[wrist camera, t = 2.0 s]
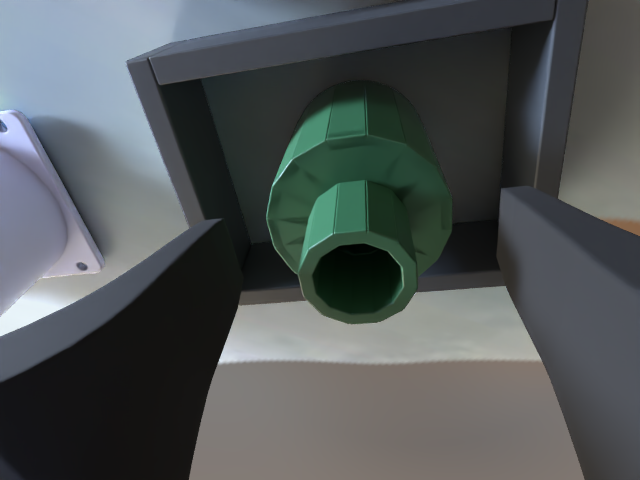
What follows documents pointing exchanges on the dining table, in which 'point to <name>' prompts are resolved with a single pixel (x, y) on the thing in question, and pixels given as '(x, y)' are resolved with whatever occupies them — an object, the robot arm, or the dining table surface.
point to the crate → (351, 37)
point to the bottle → (359, 203)
